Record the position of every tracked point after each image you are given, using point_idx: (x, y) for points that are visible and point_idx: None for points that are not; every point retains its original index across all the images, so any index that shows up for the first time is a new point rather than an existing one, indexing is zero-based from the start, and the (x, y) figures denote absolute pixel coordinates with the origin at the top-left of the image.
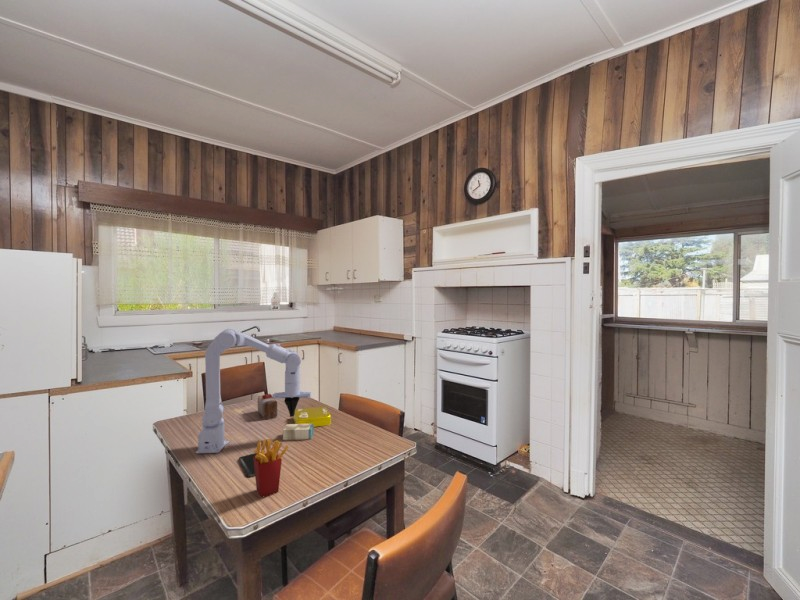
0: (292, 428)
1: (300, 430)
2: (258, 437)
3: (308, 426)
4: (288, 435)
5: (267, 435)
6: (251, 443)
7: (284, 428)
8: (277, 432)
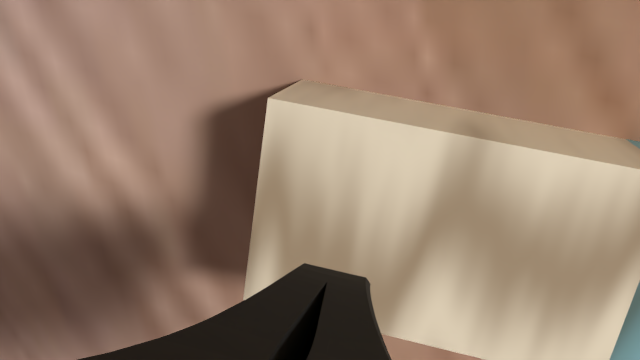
0: None
1: (477, 352)
2: (20, 113)
3: (610, 281)
4: None
5: (96, 79)
6: (4, 244)
7: (256, 256)
8: (188, 8)
